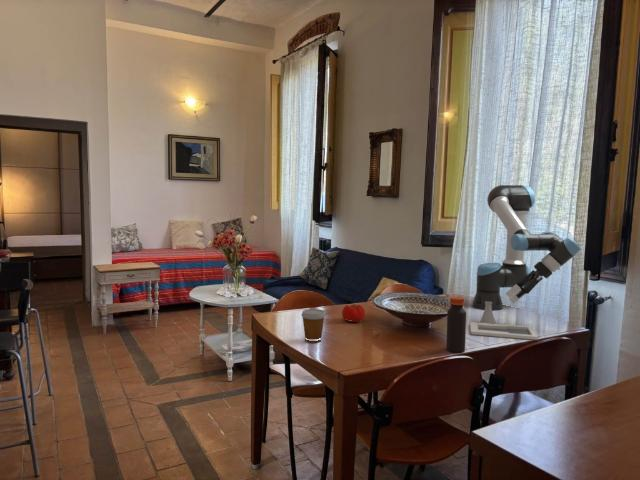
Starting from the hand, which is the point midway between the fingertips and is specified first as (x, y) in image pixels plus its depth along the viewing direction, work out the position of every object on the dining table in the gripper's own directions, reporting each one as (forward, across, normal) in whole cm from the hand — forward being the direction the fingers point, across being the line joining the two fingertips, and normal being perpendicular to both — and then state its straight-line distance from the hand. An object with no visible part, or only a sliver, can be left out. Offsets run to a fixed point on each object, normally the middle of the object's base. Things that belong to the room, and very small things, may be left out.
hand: (509, 298), depth 209 cm
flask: (+15, +1, -3) cm, 15 cm away
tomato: (+57, -13, +40) cm, 71 cm away
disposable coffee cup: (+64, -48, +47) cm, 93 cm away
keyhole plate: (+12, -13, -6) cm, 18 cm away
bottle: (+25, -44, +8) cm, 51 cm away
